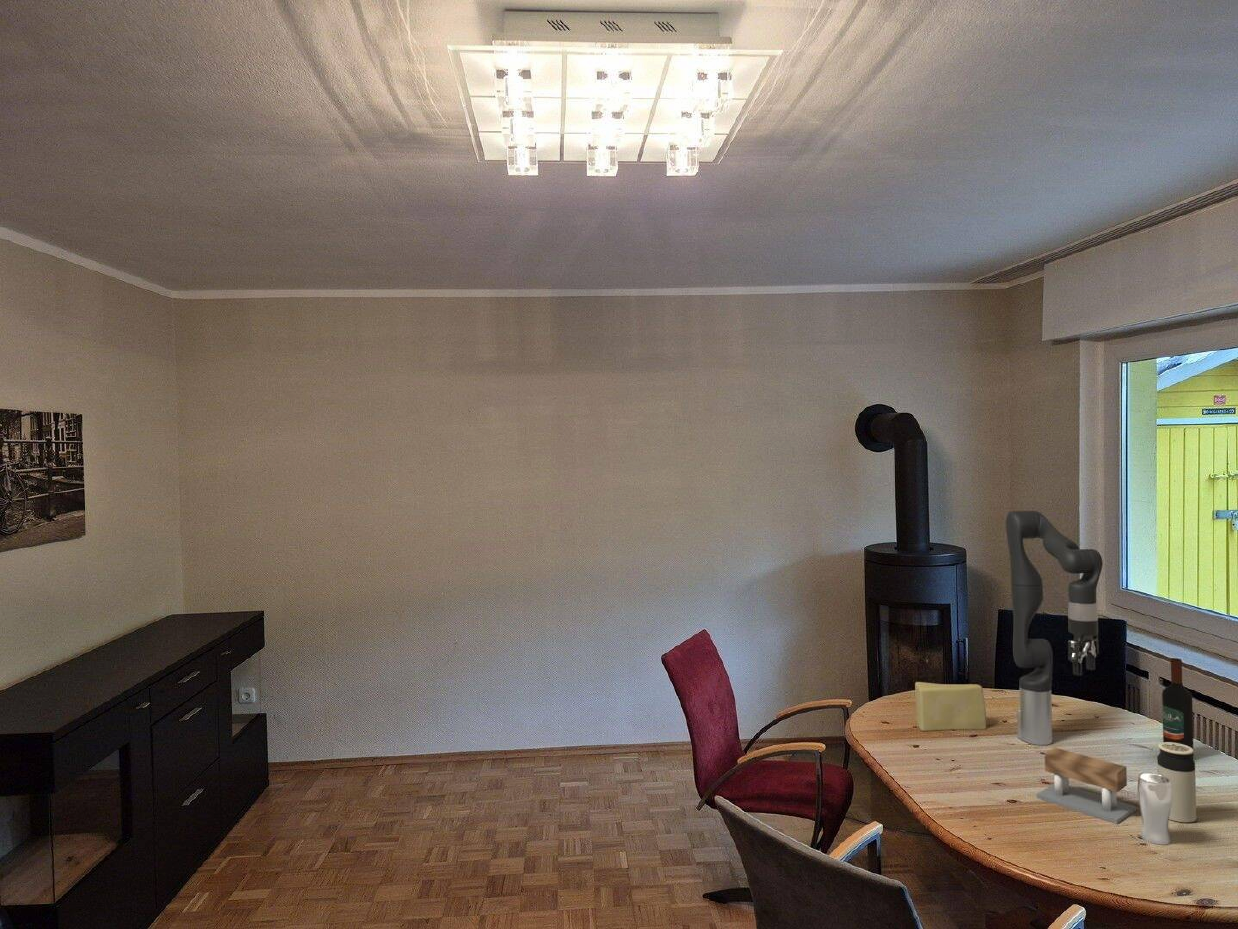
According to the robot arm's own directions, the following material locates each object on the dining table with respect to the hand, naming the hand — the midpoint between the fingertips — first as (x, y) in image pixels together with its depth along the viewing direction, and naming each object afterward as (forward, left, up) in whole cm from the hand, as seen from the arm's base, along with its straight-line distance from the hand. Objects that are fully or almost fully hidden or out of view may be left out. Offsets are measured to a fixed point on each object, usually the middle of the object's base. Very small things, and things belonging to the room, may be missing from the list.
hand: (1084, 672), depth 229 cm
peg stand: (+8, -20, -30) cm, 37 cm away
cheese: (-46, +7, -30) cm, 56 cm away
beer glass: (+27, -27, -30) cm, 49 cm away
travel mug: (+26, -10, -30) cm, 41 cm away
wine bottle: (+12, +34, -30) cm, 47 cm away
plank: (+8, -20, -23) cm, 32 cm away
